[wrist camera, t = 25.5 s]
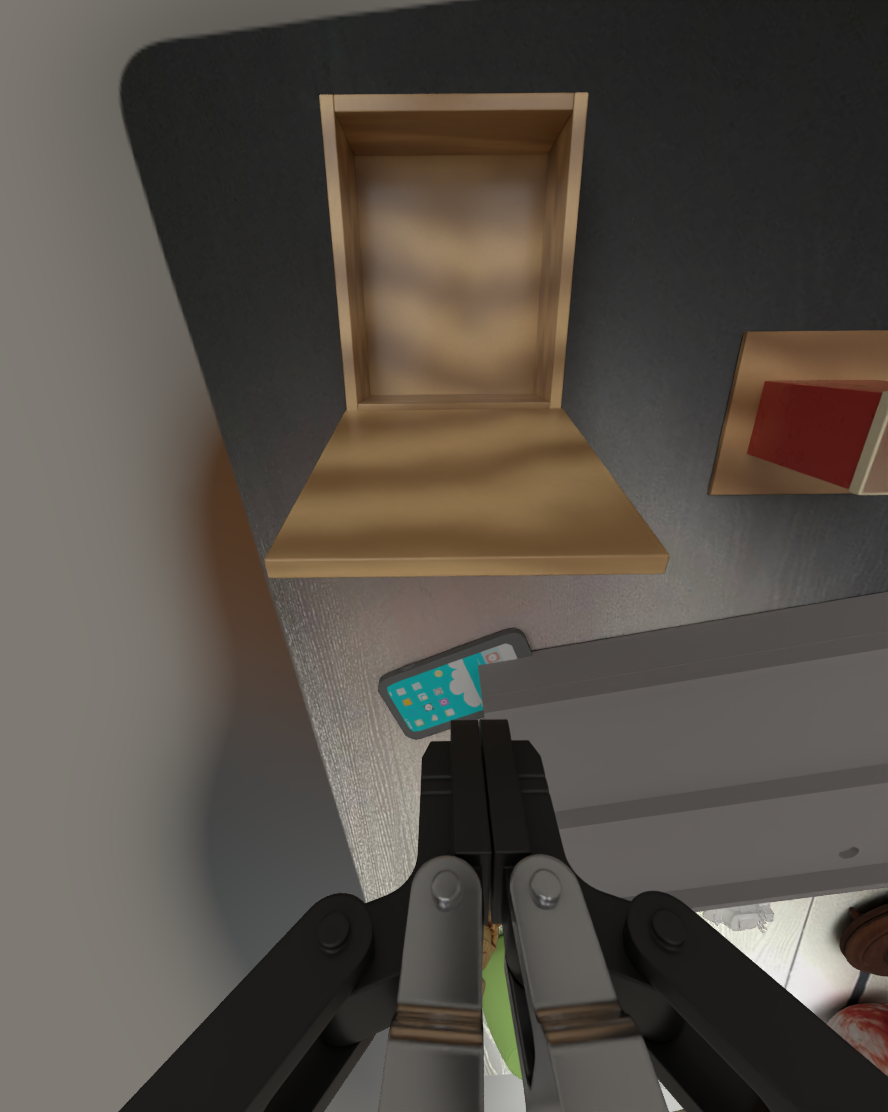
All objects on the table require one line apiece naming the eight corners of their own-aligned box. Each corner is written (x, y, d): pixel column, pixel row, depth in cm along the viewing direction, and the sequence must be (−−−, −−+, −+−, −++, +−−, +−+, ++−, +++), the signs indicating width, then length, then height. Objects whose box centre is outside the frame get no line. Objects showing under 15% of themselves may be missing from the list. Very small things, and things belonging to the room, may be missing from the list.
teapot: (591, 991, 69) (623, 1125, 57) (490, 1002, 70) (501, 1136, 58) (580, 900, 61) (614, 1037, 49) (465, 914, 62) (470, 1051, 50)
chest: (343, 146, 30) (318, 93, 23) (558, 144, 30) (588, 92, 23) (363, 403, 36) (347, 415, 30) (539, 402, 36) (560, 413, 30)
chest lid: (262, 559, 15) (268, 579, 16) (671, 555, 16) (665, 574, 16) (344, 410, 29) (346, 422, 29) (563, 408, 29) (561, 420, 29)
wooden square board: (743, 331, 34) (747, 331, 34) (909, 330, 34) (916, 329, 34) (707, 493, 39) (710, 495, 38) (853, 491, 39) (857, 493, 38)
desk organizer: (477, 660, 45) (483, 712, 39) (917, 586, 42) (1002, 629, 36) (519, 868, 58) (529, 933, 51) (860, 821, 55) (916, 884, 49)
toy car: (757, 902, 61) (778, 938, 57) (694, 909, 62) (711, 946, 58) (760, 878, 59) (782, 915, 55) (695, 887, 60) (712, 923, 56)
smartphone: (550, 697, 46) (410, 744, 48) (548, 690, 47) (411, 737, 49) (520, 628, 43) (372, 682, 45) (518, 622, 44) (373, 676, 46)
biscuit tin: (763, 379, 35) (895, 392, 25) (874, 378, 35) (1051, 390, 25) (744, 455, 37) (858, 495, 27) (848, 454, 37) (1001, 494, 27)
